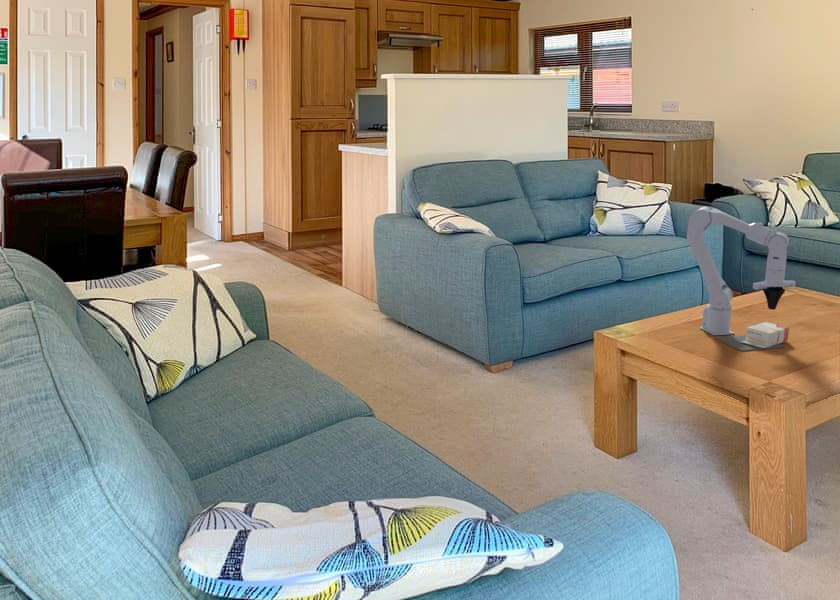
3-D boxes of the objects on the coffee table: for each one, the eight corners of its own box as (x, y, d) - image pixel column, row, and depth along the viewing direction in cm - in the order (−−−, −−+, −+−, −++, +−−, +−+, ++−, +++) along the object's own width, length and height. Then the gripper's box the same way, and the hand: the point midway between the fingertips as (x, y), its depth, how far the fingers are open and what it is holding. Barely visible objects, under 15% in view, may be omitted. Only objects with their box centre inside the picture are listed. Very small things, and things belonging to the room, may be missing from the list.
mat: (716, 338, 261) (716, 337, 261) (757, 335, 264) (757, 334, 263) (741, 351, 247) (741, 350, 247) (783, 347, 250) (784, 346, 250)
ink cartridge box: (789, 326, 255) (765, 334, 246) (787, 340, 256) (763, 349, 248) (765, 320, 261) (740, 328, 253) (763, 334, 263) (739, 343, 254)
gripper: (763, 273, 249) (759, 313, 252) (803, 270, 252) (798, 310, 255) (750, 268, 256) (746, 308, 259) (789, 266, 258) (785, 305, 262)
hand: (771, 308), depth 257 cm, fingers closed
